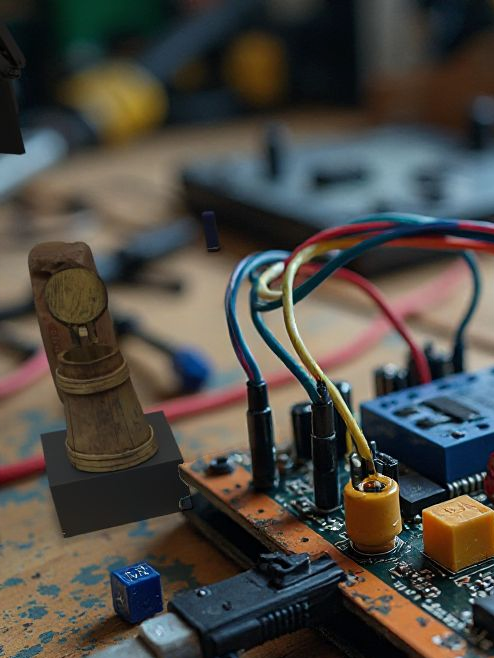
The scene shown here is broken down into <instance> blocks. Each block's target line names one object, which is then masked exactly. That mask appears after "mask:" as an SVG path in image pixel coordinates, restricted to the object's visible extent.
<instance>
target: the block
mask: <svg viewBox="0 0 494 658" xmlns="http://www.w3.org/2000/svg"><path fill="white" fill-rule="evenodd" d="M69 260H70V261H73V262H76V263H79V264H81V265H84V266H86V267H88V268H90V269H92V270H93V271H94V272H96V273H97V274H98V275H99V276H100V272H99V270H98V268H97V265H96V262H95V258H94V254H93V252H92V249H91V246H90V245H89V244H87V242H85V241H74V242H65V241H59V240H58V241H57V240H55V241H45V242H41V243H37V244H35V245H34V246H33V247H32V248H31V250H30V251H29V253H28V256H27V266H28V267H27V268H28V273H29V278H30V284H31V288H32V289H31V290H32V291H31V292H32V297H33V303H34V309H35V314H36V319H37V323H38V327H39V331H40V336H41V341H42V344H43V348H44V352H45V356H46V360H47V364H48V367H49V372H50V374H51V378H52V381H53V384H54V387H55V391H56V394H57V396H58V398H59V400H60V402H61V404H62V405H63V406H64V402H63V395H62V390H61V389H60V388H59V387H58V385H57V380H56V370H57V368H58V354H59V353H61V352H62V351H64V350H67V349H71V348H74V347H72V342H71V336H70V332H69V329H68V328H67V327H65V326H64V325H62V324H60V323H59V322H57V321H56V320H55V319H53V318H52V316H51V315H50V313H49V312H48V309H47V305H46V300H45V296H44V286H45V284H46V282H47V280H48V278H49V277H50V276H51V275H52V274H53V273H54V272H55V271H56V270H57V269H58V268H59V267H60V266H62V265H63V264H64V263H66V262H67V261H69ZM84 324H85V323H84ZM78 325H79V324H78ZM85 326H86V324H85ZM95 326H96V330H97V335H98V339H99V344H114V345H117V339H116V335H115V334H116V333H115V330H114V326H113V321H112V318H111V314H110V309H109V307H108V308H107V310H106V311H105V313H104V314H103V316H102V317H101V318H100V319H99V320H98V321H97V322H96V323H95ZM117 346H118V345H117Z"/></svg>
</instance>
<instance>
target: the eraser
mask: <svg viewBox="0 0 494 658" xmlns="http://www.w3.org/2000/svg"><path fill="white" fill-rule="evenodd" d="M201 219H202V220H201V221H202V226H203V233H204V239H205V244H206V245H205V246H206V250H207V252H208V253H213V252H214V253H215V252H219V251H220V248H221V247H219V248H218V249H207V248H213V247H218V246H220V239H219V238H220V237H219V233H218V226H217V219H216V215H215V211H213V210H209V211H208V210H207V211H202V213H201Z"/></svg>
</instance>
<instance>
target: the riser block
mask: <svg viewBox="0 0 494 658" xmlns="http://www.w3.org/2000/svg"><path fill="white" fill-rule="evenodd" d="M144 415H145V418H146V420H147V423H148V424H149V425H150V426H151V427H152V429H153V432H154V435H155V438H156V441H157V444H158V450H157V451H156V452H155V454H154V455H153V456H151V457H150V458H148V459H147V460H145V461H143V462H141V463H139V464H137V465H134V466H131V467H128V468H125V469H120V470H114V471H106V472H89V471H84V470H80V469H77V468H76V467H74V466H73V465H72V464H71V463H70V460H69V458H68V453H67V448H66V443H65V442H66V439H67V429H66V428H65V429H60V430H55V431H49V432H44V433H40V435H39V436H40V441H41V447H42V453H43V457H44V464H45V471H46V475H47V480H48V481H47V482H48V487H49V491H50V494H51V497H52V500H53V501H52V502H53V504H54V509H55V511H56V512H55V513H56V516H57V519H58V522H59V526H60V530H61V533H62V536H63V538H64V539H66V538H70V537H73V536H78V535H82V534H86V533H91V532H95V531H100V530H104V529H109V528H113V527H117V526H121V525H126V524H131V523H134V522H140V521H144V520H149V519H153V518H157V517H162V516H165V515H170V514H174V513H180V512H183V511H182V510H181V508H180V507H179V501H180V499H181V498H184V497H186V496H189V495H191V496H192V494H191V490H190V485H189V486H187V485H186V484H185V483H184V482H183V481H182V480H181V479H180V477H179V472H178V465H179V464H183V463H184V464H185V461H184V458H183V457H184V456H183V454H182V452H181V450H180V447H179V445H178V442H177V440H176V438H175V435H174V434H173V430H172V429H171V426H170V424H169V421H168V419H167V416H166V414H165V411H164V410H158V411H152V412H147V413H144ZM63 533H65V534H63Z"/></svg>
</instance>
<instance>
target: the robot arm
mask: <svg viewBox="0 0 494 658" xmlns="http://www.w3.org/2000/svg"><path fill="white" fill-rule="evenodd" d="M26 63H27V61H26V57H25V56H24V54H23V51H21V48H20V47H19V45H18V44H17V42H16V40H15V39H14V37H13V36H12V34H11V32H10V30H9V28H8V27H7V25H6V24H5V22H4V20H3V19H2V16H0V155H1V154H3V155H15V156H16V155H17V156H22V155H25V154H26V153H27V152H26V148H25V143H24V139H23V136H22V130H21V127H20V123H19V118H18V114H19V105H18V101H17V100H18V99H17V95H16V92H15V87H14V83H13V80H19V79H20V78H21V76H22V71H21V69H24V68H25V67H26Z"/></svg>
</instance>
